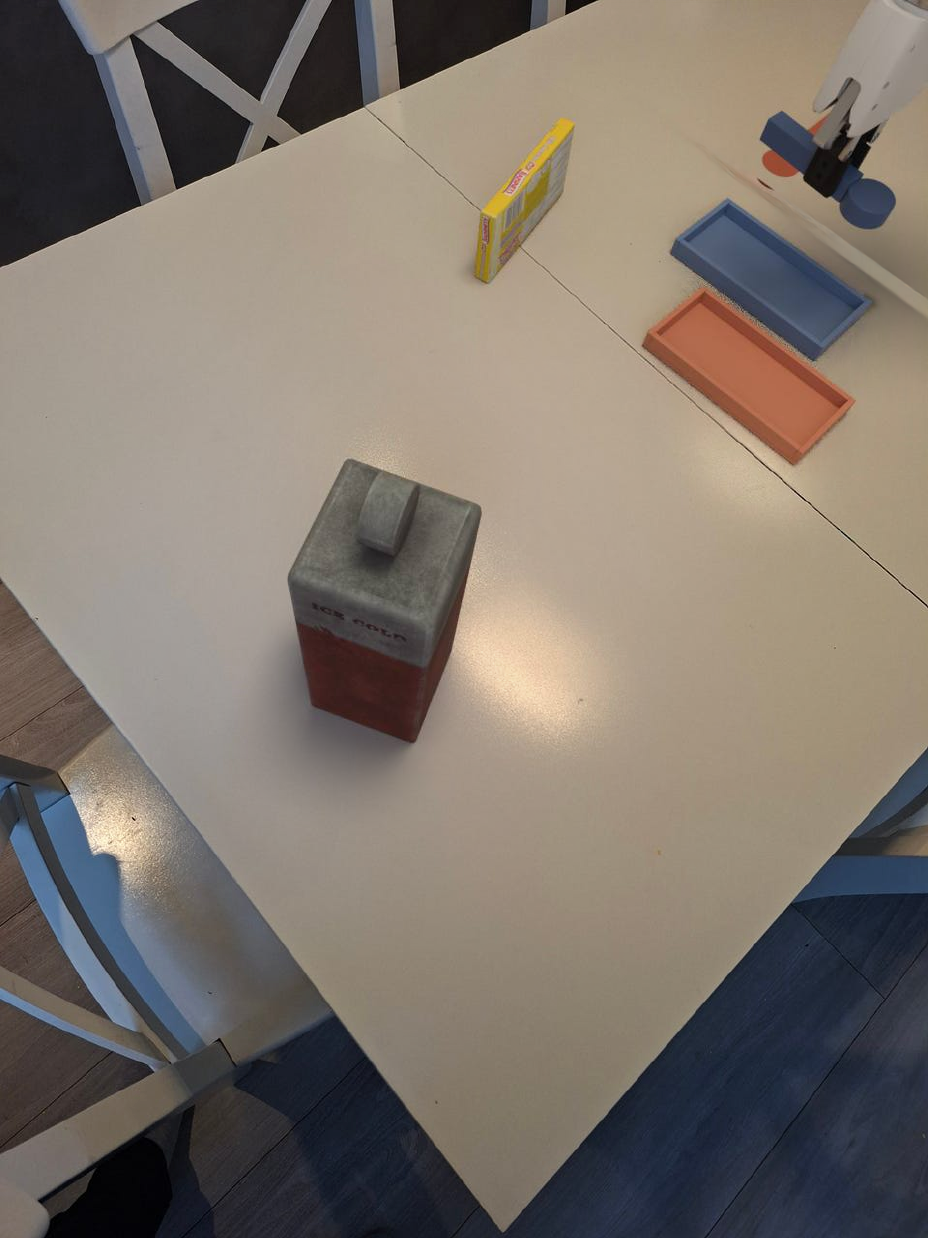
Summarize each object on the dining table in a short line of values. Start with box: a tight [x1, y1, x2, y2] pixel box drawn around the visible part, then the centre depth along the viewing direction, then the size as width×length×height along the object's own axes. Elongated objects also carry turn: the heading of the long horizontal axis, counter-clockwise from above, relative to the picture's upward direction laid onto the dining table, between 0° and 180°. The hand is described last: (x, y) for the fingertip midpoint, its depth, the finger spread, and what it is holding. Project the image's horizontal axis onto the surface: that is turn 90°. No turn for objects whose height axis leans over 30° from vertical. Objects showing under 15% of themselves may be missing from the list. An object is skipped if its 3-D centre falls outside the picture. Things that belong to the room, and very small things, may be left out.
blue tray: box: [669, 197, 873, 362], centre depth 93 cm, size 19×9×2 cm, turn 46°
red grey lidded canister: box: [287, 458, 483, 744], centre depth 60 cm, size 9×11×28 cm
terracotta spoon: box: [756, 113, 829, 191], centre depth 102 cm, size 14×4×2 cm, turn 136°
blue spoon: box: [758, 110, 897, 230], centre depth 82 cm, size 14×4×2 cm, turn 41°
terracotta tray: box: [641, 285, 857, 466], centre depth 88 cm, size 19×9×2 cm, turn 46°
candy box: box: [474, 116, 576, 284], centre depth 90 cm, size 16×2×8 cm, turn 149°
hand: (826, 180), depth 82 cm, fingers closed on blue spoon, 2 cm apart
